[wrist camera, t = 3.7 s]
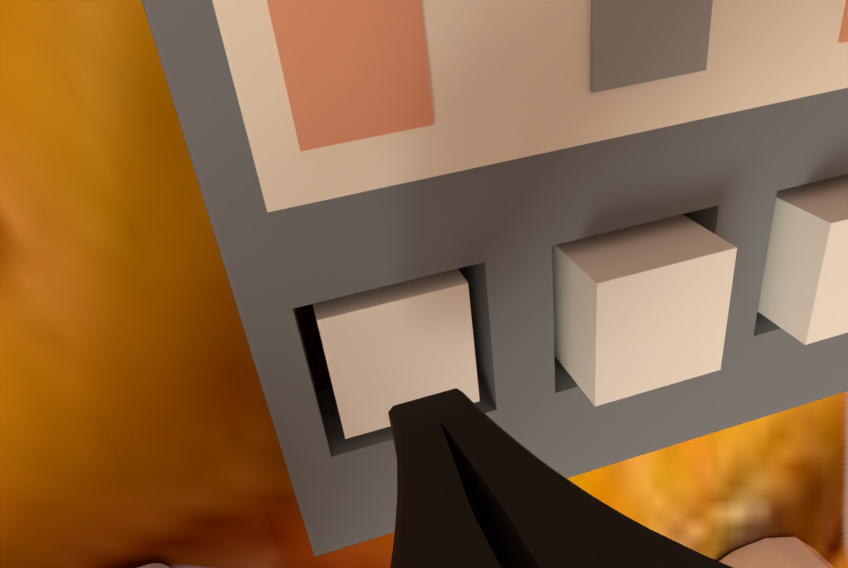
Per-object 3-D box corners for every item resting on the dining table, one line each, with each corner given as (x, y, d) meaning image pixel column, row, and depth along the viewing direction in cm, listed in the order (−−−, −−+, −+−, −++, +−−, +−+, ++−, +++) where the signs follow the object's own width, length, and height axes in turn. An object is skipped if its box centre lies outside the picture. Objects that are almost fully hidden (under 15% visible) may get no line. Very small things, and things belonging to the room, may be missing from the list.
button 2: (330, 381, 17) (345, 438, 15) (304, 272, 15) (316, 320, 13) (451, 350, 17) (479, 400, 15) (437, 240, 16) (468, 283, 14)
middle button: (551, 353, 16) (594, 406, 15) (549, 239, 15) (596, 283, 13) (665, 321, 17) (720, 369, 15) (674, 209, 15) (737, 247, 14)
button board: (303, 483, 18) (315, 563, 16) (131, -91, 11) (109, -96, 9) (821, 333, 21) (894, 381, 19) (940, -195, 14) (1078, -219, 12)
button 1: (742, 300, 17) (805, 345, 16) (758, 189, 16) (831, 223, 14) (843, 273, 18) (916, 312, 16) (869, 162, 16) (953, 192, 15)
